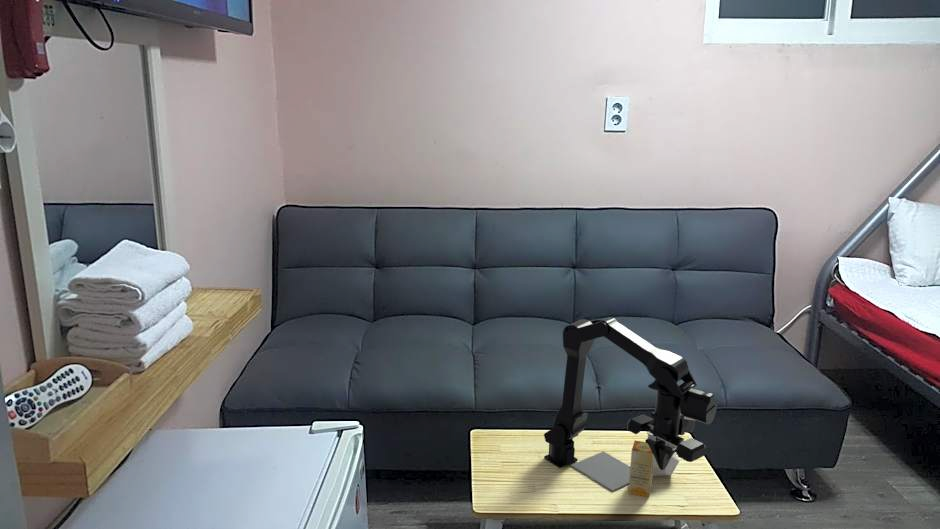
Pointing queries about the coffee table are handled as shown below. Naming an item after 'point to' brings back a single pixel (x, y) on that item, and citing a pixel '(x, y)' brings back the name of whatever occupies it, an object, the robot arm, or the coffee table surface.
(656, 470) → the die
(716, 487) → the coffee table surface
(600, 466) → the mat
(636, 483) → the shoe polish box
